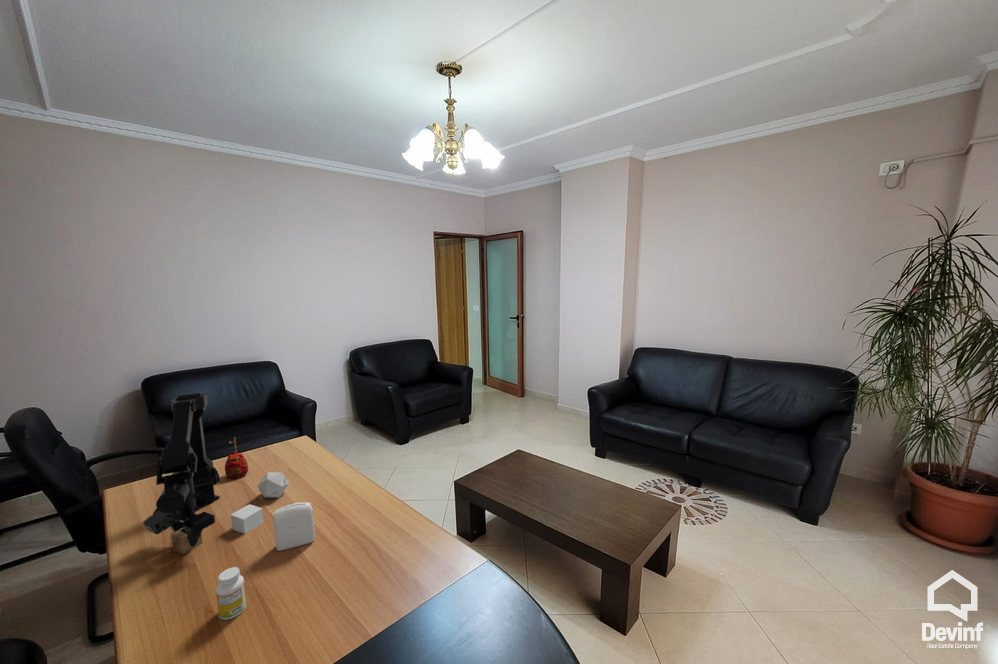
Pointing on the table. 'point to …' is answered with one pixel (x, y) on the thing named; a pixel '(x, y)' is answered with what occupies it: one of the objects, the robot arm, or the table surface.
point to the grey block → (247, 518)
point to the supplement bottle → (230, 593)
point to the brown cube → (183, 542)
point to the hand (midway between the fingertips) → (187, 543)
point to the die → (273, 485)
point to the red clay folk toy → (236, 465)
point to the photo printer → (294, 525)
